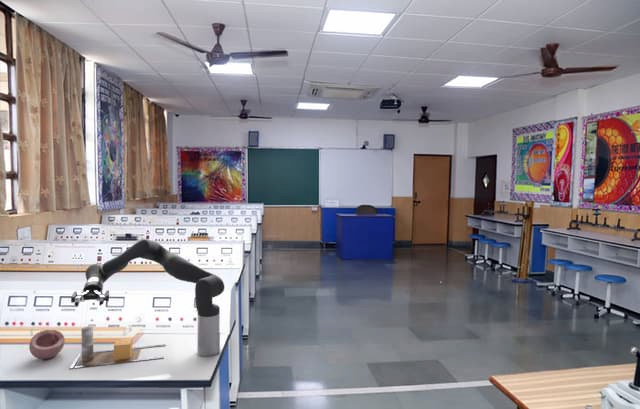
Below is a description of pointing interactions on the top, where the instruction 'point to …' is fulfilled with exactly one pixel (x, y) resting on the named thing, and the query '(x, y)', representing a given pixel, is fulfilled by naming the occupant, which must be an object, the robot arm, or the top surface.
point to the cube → (123, 349)
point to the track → (115, 362)
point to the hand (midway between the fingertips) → (88, 304)
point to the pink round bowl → (46, 344)
